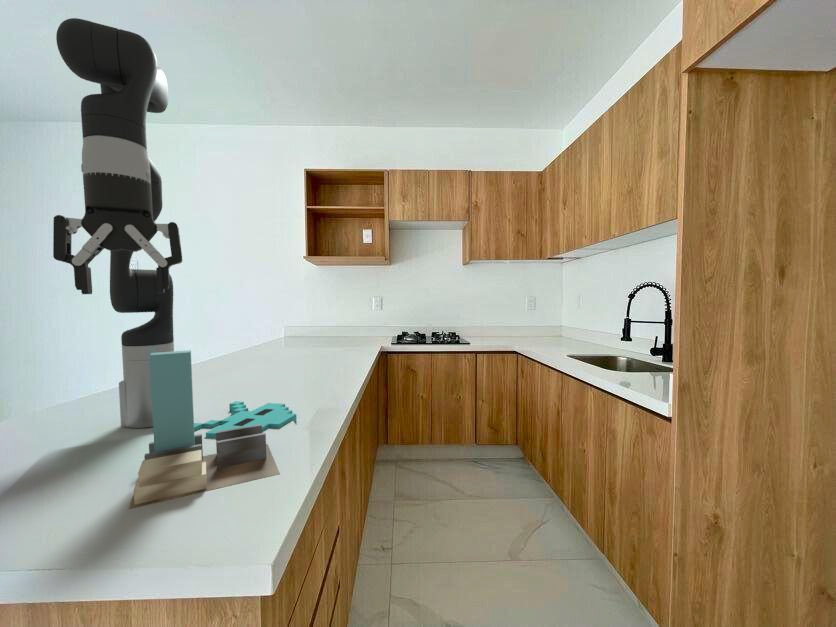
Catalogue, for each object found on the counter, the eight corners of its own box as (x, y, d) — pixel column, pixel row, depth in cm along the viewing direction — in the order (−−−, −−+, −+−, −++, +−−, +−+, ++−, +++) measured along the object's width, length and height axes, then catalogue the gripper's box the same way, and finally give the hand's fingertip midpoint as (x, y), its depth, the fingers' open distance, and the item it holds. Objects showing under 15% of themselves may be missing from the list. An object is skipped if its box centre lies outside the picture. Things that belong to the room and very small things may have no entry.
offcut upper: (138, 487, 48) (138, 472, 48) (143, 474, 52) (142, 460, 52) (201, 474, 52) (201, 460, 52) (202, 463, 55) (201, 449, 55)
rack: (129, 516, 47) (127, 477, 47) (143, 473, 58) (142, 442, 58) (280, 480, 56) (279, 447, 56) (267, 449, 67) (266, 421, 67)
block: (155, 477, 55) (149, 355, 54) (157, 470, 57) (151, 352, 56) (195, 469, 58) (190, 352, 57) (195, 462, 60) (190, 350, 59)
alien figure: (166, 441, 73) (258, 448, 69) (165, 429, 73) (258, 436, 69) (235, 410, 92) (311, 414, 88) (235, 401, 92) (311, 405, 88)
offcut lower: (134, 504, 48) (133, 489, 48) (139, 489, 52) (139, 474, 52) (206, 488, 52) (206, 474, 52) (206, 474, 56) (206, 461, 56)
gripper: (179, 190, 60) (185, 292, 61) (60, 178, 53) (68, 294, 54) (176, 178, 53) (182, 293, 54) (38, 162, 46) (48, 294, 47)
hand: (125, 293), depth 54 cm, fingers open, 8 cm apart
